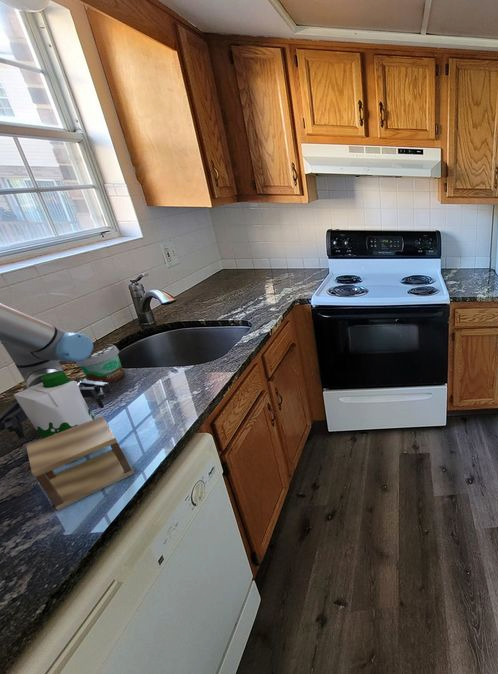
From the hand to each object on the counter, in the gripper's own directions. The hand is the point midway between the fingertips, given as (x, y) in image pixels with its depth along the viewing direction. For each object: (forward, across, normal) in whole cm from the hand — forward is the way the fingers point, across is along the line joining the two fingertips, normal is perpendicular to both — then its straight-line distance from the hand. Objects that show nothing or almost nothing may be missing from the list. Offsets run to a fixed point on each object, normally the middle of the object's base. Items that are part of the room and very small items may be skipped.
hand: (61, 417), depth 84 cm
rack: (+12, 0, -11) cm, 16 cm away
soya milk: (-3, 0, -11) cm, 11 cm away
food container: (-40, -14, -11) cm, 44 cm away
